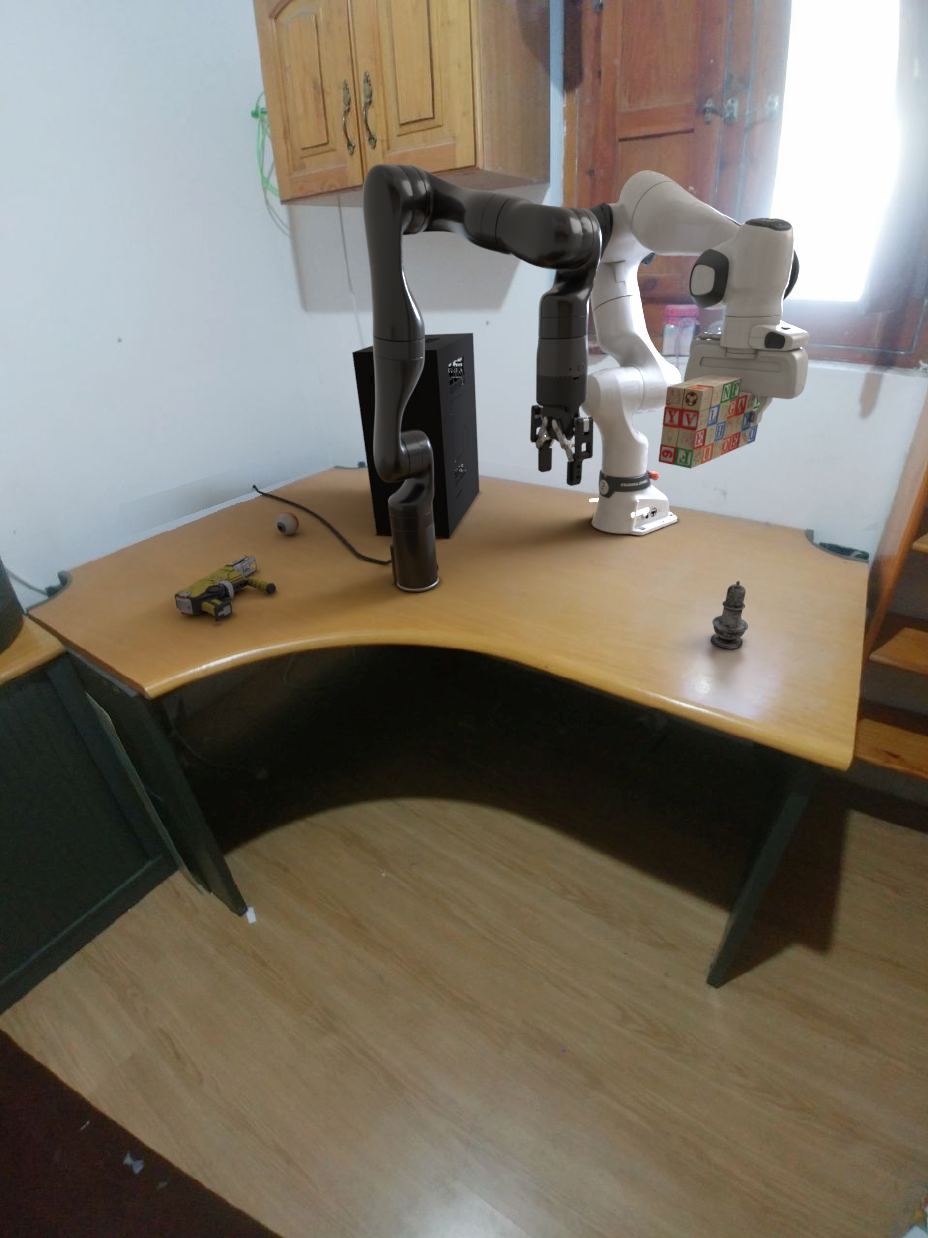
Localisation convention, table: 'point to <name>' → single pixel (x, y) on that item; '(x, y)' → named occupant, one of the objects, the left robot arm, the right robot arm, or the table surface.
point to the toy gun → (220, 589)
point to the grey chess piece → (731, 619)
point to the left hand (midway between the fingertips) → (558, 477)
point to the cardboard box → (431, 428)
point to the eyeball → (287, 523)
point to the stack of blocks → (706, 420)
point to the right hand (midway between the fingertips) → (734, 419)
